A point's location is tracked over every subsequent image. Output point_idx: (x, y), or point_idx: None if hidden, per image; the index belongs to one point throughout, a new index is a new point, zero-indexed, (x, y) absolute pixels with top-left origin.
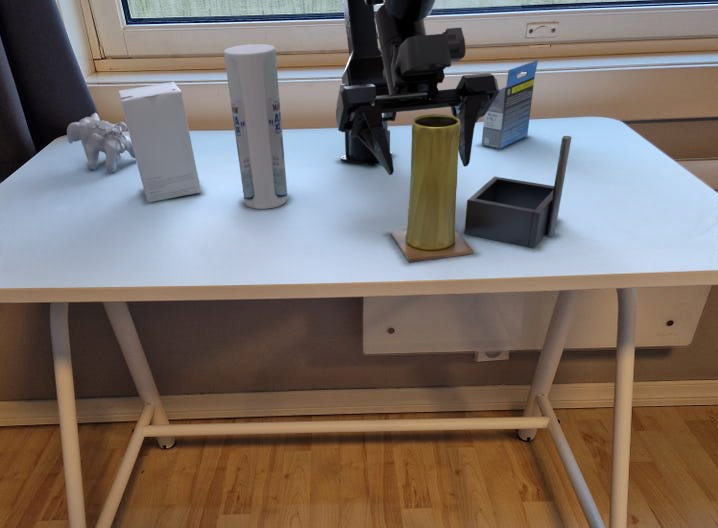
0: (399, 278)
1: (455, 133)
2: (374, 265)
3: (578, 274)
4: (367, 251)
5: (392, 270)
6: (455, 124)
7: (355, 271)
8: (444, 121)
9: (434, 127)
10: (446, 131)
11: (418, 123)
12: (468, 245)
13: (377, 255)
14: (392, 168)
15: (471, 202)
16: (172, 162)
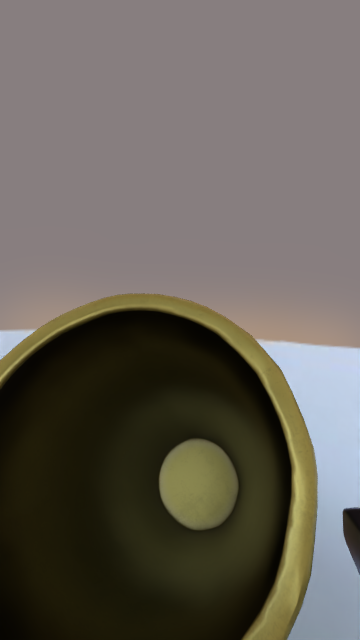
0: (274, 349)
1: (55, 363)
2: (321, 400)
3: (25, 331)
4: (343, 468)
5: (285, 376)
6: (34, 334)
7: (357, 382)
8: (2, 610)
9: (171, 298)
10: (110, 314)
11: (242, 626)
12: None
13: (318, 443)
14: (353, 513)
15: None
16: None
